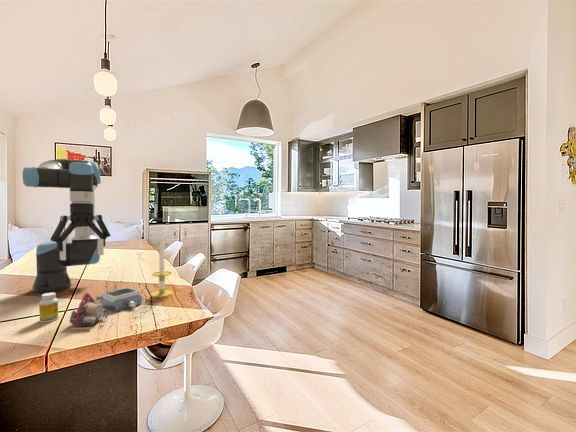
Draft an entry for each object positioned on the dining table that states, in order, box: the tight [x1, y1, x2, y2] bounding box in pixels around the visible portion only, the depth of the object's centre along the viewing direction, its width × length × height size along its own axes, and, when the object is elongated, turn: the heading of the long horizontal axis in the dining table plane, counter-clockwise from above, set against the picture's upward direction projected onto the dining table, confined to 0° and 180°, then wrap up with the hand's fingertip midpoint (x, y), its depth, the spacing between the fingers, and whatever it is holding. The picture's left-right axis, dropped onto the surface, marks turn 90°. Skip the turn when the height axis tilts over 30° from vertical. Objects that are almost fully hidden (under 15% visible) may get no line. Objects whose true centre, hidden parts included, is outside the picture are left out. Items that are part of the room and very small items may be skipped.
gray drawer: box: [100, 286, 143, 313], centre depth 125 cm, size 15×11×6 cm
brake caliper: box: [69, 292, 108, 330], centre depth 107 cm, size 11×11×12 cm
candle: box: [150, 238, 174, 298], centre depth 141 cm, size 10×10×27 cm
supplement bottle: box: [38, 292, 59, 323], centre depth 109 cm, size 5×5×10 cm
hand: (82, 257), depth 116 cm, fingers open, 13 cm apart
